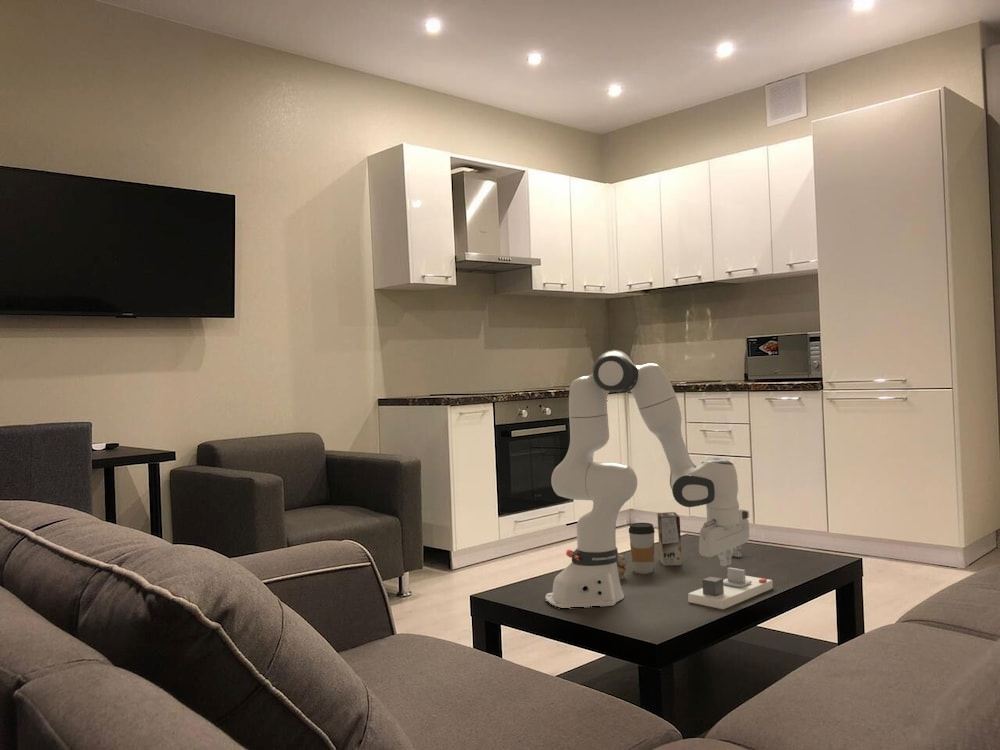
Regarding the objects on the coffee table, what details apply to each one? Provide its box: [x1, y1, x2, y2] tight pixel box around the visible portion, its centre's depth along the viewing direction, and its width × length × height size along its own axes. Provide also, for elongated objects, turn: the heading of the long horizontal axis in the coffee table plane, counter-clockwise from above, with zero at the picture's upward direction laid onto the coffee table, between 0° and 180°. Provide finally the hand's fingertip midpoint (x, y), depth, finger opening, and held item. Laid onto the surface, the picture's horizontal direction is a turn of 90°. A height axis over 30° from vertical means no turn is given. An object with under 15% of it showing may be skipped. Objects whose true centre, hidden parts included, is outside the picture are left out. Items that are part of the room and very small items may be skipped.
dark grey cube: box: [702, 576, 724, 596], centre depth 223 cm, size 4×4×4 cm
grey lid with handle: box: [723, 567, 752, 588], centre depth 231 cm, size 6×6×4 cm
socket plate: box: [687, 575, 774, 610], centre depth 229 cm, size 26×11×3 cm, turn 133°
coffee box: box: [657, 511, 683, 567], centre depth 271 cm, size 9×6×16 cm
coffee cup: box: [628, 522, 656, 574], centre depth 261 cm, size 8×8×15 cm
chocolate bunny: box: [618, 552, 628, 581], centre depth 254 cm, size 6×8×10 cm
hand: (725, 565), depth 227 cm, fingers closed
